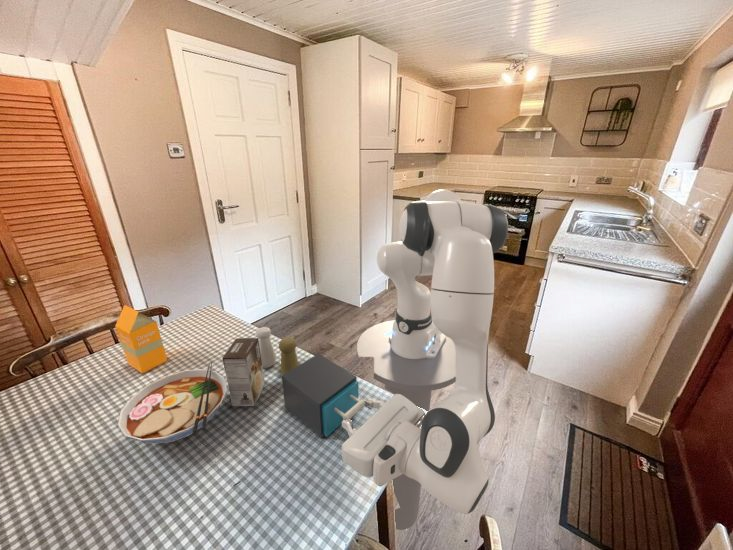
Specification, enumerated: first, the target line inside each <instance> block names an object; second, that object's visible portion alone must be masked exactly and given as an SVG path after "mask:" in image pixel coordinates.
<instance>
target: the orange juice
mask: <svg viewBox="0 0 733 550" xmlns="http://www.w3.org/2000/svg"><path fill="white" fill-rule="evenodd" d="M157 322H158V321H156V320H154V319H153V318H151V317H149V316H147V315H145V314H144V313H142V312H141V311H138V310H137V309H134V308H132V307H130V306H128V305H126V304H124V305H123V307H122V309H121V312H120V314H119V316H118V318H117V321H116V323H115V325H114V327H115V330H116V333H117V335H118V338H119V341H120V344H121V348H122V350H123V353H124V355H125V358H126V362H127V364H128V365H129V366H130V367H132V368H133V369H135V370H137V371H138V372H139V373H141V374H145V373H146V372H148V371H150V370H152V369H155V368H156V367H158V366H160V365H162V364H164V363H165V362H167V361H168V357H167V353H166V351H165V348H164V343H163V339H162V337H161V333H160V330H159V326H158V323H157Z"/></svg>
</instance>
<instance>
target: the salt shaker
mask: <svg viewBox="0 0 733 550" xmlns="http://www.w3.org/2000/svg"><path fill="white" fill-rule="evenodd" d="M271 334H272V331H271V329H270V327H268V326H263V327H260V328H258V329H256V331H255V336H256V338H258V340H259V347H260V353H261V360H262V367H263V369H266V368H271V367H272V366H273V365H275V363H276V359H277V354H276V352H275V349H274V346H273V343H272V341H271V338H270V337H271Z"/></svg>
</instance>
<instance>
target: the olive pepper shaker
mask: <svg viewBox="0 0 733 550" xmlns="http://www.w3.org/2000/svg"><path fill="white" fill-rule="evenodd" d="M296 348H297V341H296V340H295V339H294V338H293V337H284V338H282V339H281V340H280V341H279V343H278V349H279V351H280V370H279V371H280V374H281V376H282V375H284V374H286V373H287V372H289V371H291V370H292V369H294V368H296V367H297V366H299V365H300V364H299V359H298V355H297V351H296Z"/></svg>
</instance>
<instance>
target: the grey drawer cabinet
mask: <svg viewBox="0 0 733 550" xmlns="http://www.w3.org/2000/svg"><path fill="white" fill-rule="evenodd" d="M354 381H357V375H355V374H354V373H352V372H350V371H348V370H347V369H345V367H342V366H341V365H338V364H337V363H336V362H333V361H332V360H331V359H329V358H327V357H325V356H324V355H322V354H320V353H317V354H316V355H313V356H312V357H310V358H308V359H307V360H306V361H304V362H302V363H301V364H299V366H297V367H296V368H294V369H292V370H291V371H289V372H287V373H286V374H284V375H282V374H281V384H282V393H283V402H284V407H285V409H286V410H287V411H288V412H289V413H291V414H292V415H293V416H294V417H295V418H297V419H298V420H299V421H300V422H302V424H304V425H305V426H306V427H307V428H309V429H310V430H311V431H312V432H313V433H314V434H316V436H318V437H319V438H320V439H323V438H324V437H326V436H325V435H324V434H323V420H322V405H323V404H324V403H325V402H327V401H328V400H329V399H331V398H332V397H333V396H334V395H336V394H337V393H338V392H340V391H341V390H342V389H344V388H345V387H346V386H347V385H350V384H351V383H352V382H354Z"/></svg>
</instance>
